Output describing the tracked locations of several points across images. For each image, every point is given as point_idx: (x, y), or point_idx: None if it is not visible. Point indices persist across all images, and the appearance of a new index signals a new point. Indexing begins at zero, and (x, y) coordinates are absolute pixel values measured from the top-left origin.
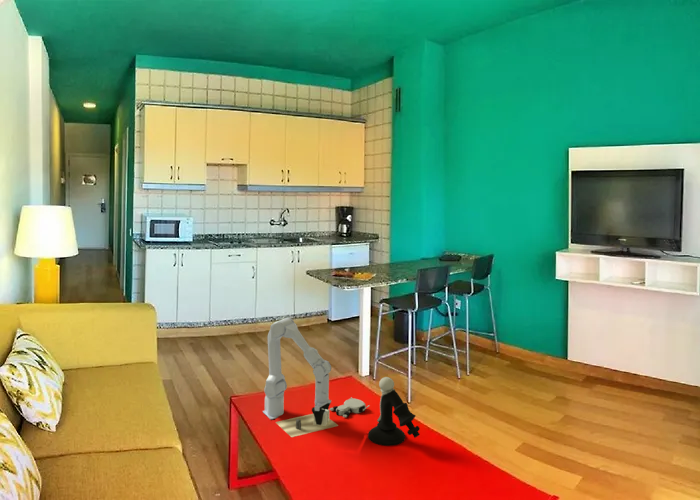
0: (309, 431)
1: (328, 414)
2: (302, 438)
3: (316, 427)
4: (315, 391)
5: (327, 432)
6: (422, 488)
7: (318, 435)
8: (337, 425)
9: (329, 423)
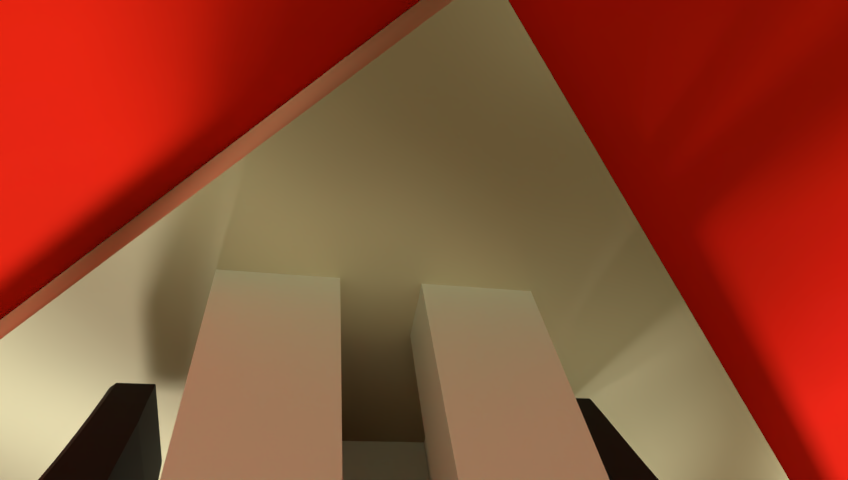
0: (734, 470)
1: (289, 448)
2: (833, 471)
3: None
4: None
5: (710, 196)
6: None
7: (800, 319)
8: (484, 10)
9: (374, 240)
